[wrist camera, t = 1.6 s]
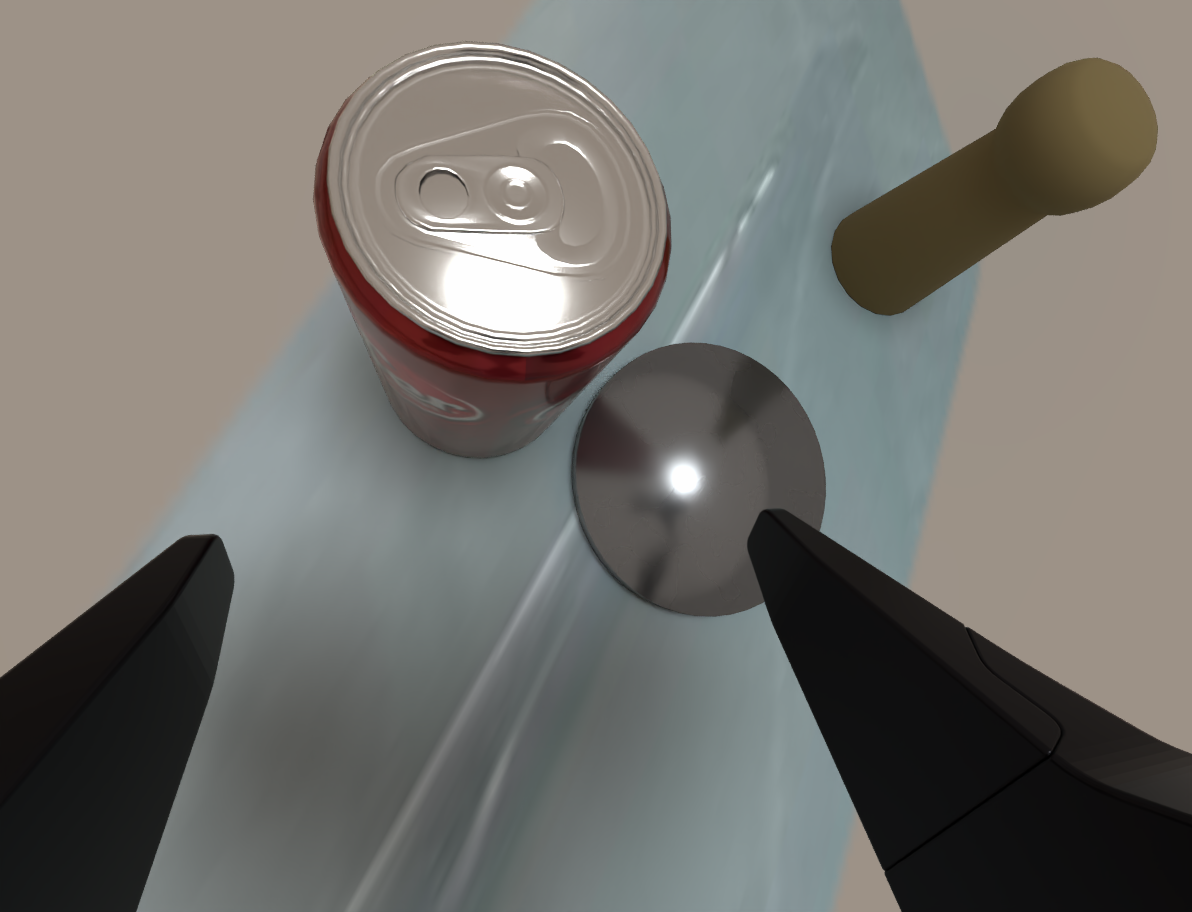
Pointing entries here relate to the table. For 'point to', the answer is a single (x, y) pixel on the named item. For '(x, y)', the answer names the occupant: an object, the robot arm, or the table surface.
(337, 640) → the table surface
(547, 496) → the table surface
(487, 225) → the soda can
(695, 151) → the table surface
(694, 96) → the table surface
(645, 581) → the flange plate
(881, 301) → the cork
